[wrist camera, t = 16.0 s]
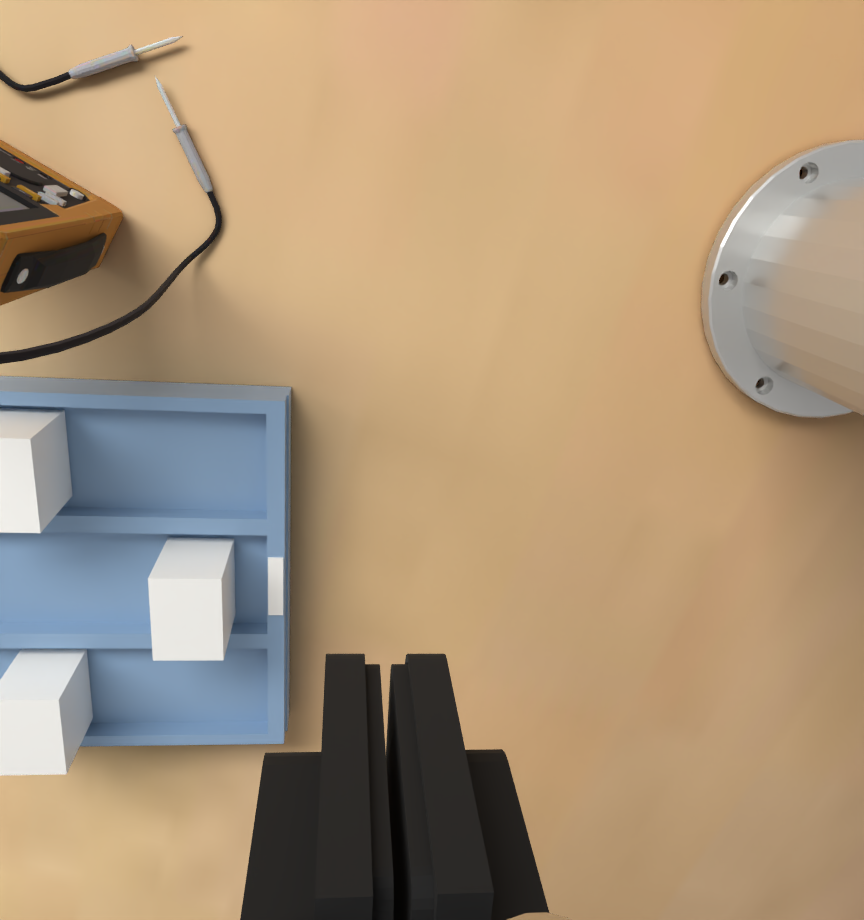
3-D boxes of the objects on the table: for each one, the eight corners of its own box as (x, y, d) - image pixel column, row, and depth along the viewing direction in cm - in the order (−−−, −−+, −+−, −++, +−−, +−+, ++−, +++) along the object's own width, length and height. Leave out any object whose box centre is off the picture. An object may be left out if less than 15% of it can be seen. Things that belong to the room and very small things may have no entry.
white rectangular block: (234, 538, 37) (221, 579, 34) (235, 613, 39) (223, 660, 35) (168, 537, 37) (148, 578, 33) (171, 612, 38) (152, 660, 35)
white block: (64, 410, 35) (30, 439, 31) (72, 495, 36) (40, 533, 32) (-9, 407, 34) (-53, 436, 31) (2, 494, 36) (-39, 531, 32)
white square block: (86, 648, 39) (58, 700, 35) (92, 717, 40) (66, 774, 36) (21, 648, 38) (-15, 700, 34) (30, 718, 40) (-4, 775, 36)
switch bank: (291, 386, 37) (287, 402, 34) (289, 712, 43) (285, 745, 40) (-78, 373, 35) (-110, 388, 33) (-27, 715, 41) (-50, 749, 39)
